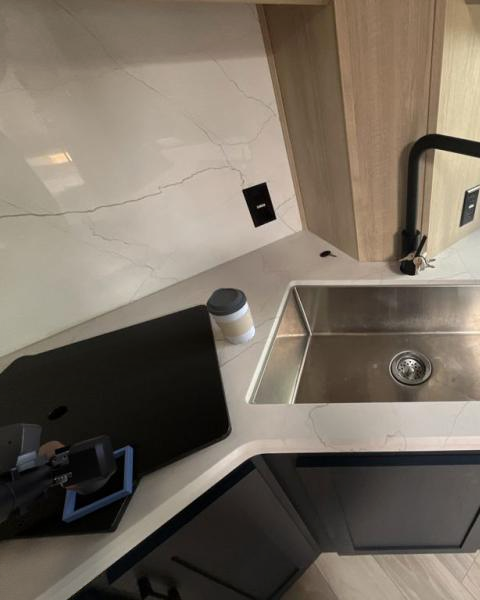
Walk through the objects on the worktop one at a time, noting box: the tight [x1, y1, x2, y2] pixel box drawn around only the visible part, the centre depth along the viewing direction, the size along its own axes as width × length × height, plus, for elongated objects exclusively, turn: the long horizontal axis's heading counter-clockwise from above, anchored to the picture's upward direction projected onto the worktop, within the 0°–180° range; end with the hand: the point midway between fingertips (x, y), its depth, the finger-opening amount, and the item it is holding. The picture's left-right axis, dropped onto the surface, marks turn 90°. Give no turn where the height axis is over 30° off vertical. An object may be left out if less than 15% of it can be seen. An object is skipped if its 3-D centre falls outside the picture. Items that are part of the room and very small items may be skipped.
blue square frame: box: [61, 445, 134, 524], centre depth 59 cm, size 9×9×2 cm
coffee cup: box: [205, 287, 256, 345], centre depth 83 cm, size 9×9×15 cm
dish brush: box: [38, 440, 111, 496], centre depth 54 cm, size 6×6×12 cm
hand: (73, 456), depth 54 cm, fingers closed on dish brush, 3 cm apart
